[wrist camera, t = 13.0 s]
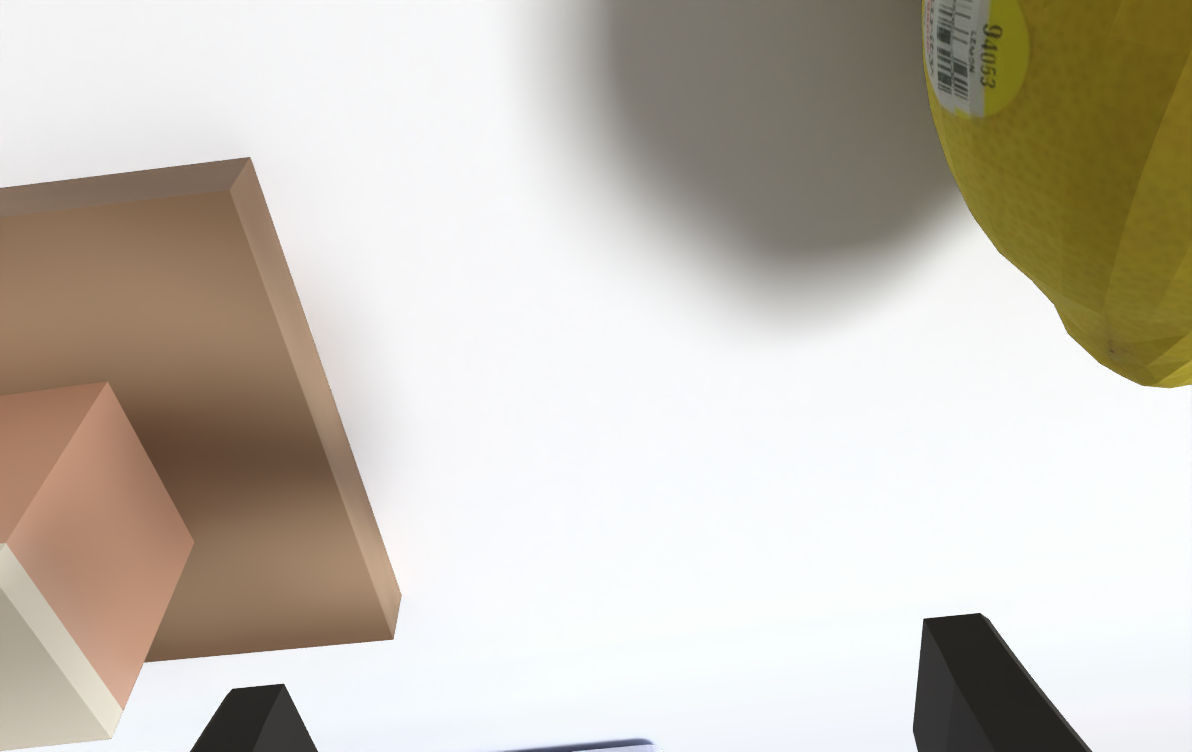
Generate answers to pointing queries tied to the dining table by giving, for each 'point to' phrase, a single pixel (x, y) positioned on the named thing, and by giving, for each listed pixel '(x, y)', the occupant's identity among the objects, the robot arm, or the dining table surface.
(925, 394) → the dining table surface
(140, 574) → the lidded terracotta box
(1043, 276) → the lemon
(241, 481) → the walnut block
